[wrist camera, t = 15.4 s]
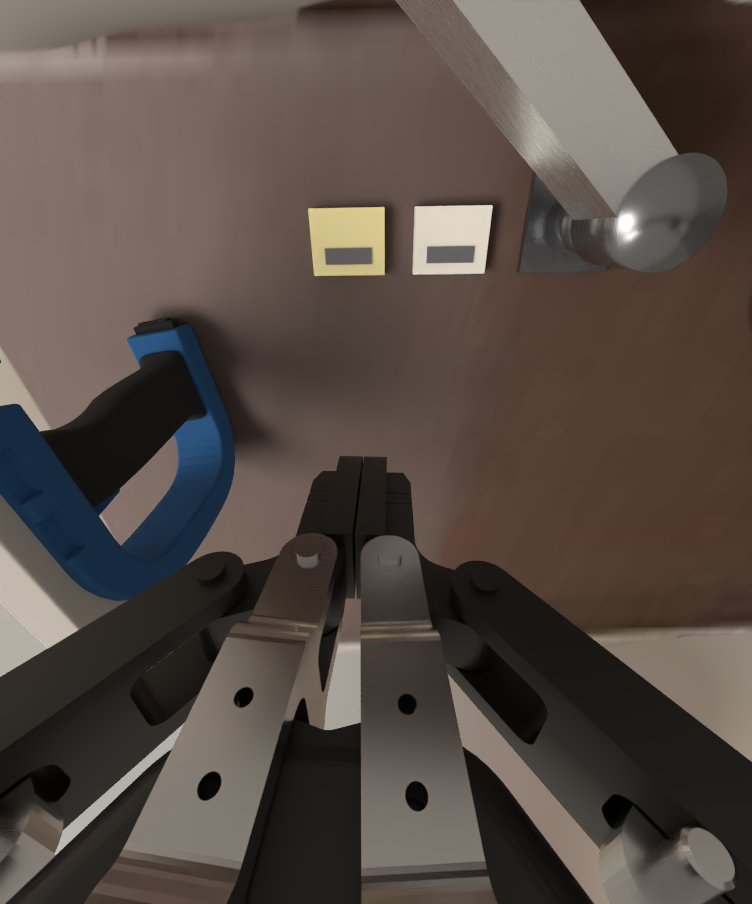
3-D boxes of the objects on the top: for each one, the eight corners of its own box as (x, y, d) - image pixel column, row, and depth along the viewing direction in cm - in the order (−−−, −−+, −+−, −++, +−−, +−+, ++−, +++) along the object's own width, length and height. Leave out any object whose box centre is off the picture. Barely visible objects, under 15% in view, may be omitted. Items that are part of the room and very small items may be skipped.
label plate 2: (489, 205, 24) (493, 205, 24) (481, 272, 26) (484, 273, 26) (414, 207, 25) (415, 206, 24) (412, 273, 27) (413, 274, 26)
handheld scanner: (181, 286, 27) (-156, 377, 10) (253, 465, 35) (127, 678, 19) (126, 296, 28) (-280, 398, 11) (208, 471, 36) (47, 682, 19)
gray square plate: (629, 165, 23) (685, 150, 19) (601, 270, 26) (643, 278, 22) (533, 167, 23) (567, 152, 19) (516, 271, 26) (542, 279, 22)
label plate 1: (384, 207, 25) (384, 206, 24) (384, 273, 27) (384, 275, 26) (310, 209, 25) (307, 208, 24) (316, 274, 27) (313, 276, 26)
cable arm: (671, 213, 20) (746, 208, 16) (600, 281, 22) (650, 293, 18) (370, -221, 13) (365, -422, 9) (304, -72, 15) (274, -184, 11)
